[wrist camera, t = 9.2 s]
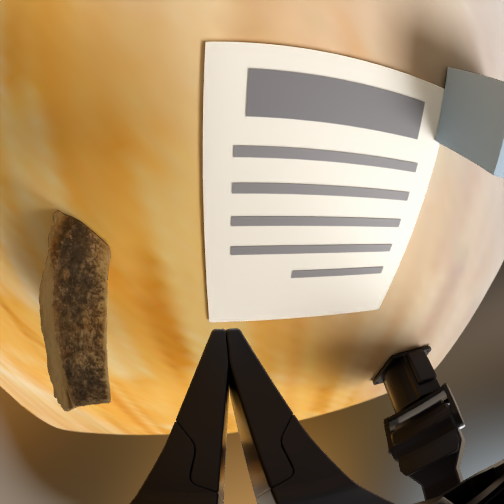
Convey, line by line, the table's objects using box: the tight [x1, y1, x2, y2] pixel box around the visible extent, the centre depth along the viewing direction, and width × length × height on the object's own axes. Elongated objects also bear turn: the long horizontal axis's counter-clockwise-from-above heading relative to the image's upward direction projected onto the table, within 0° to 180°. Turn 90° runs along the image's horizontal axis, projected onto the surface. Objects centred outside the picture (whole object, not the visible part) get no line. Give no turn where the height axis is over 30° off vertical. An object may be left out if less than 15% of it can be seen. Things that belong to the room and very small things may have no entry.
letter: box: [203, 42, 445, 322], centre depth 16 cm, size 18×14×1 cm
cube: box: [435, 67, 504, 178], centre depth 11 cm, size 5×5×5 cm
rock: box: [39, 211, 111, 411], centre depth 15 cm, size 11×9×10 cm
